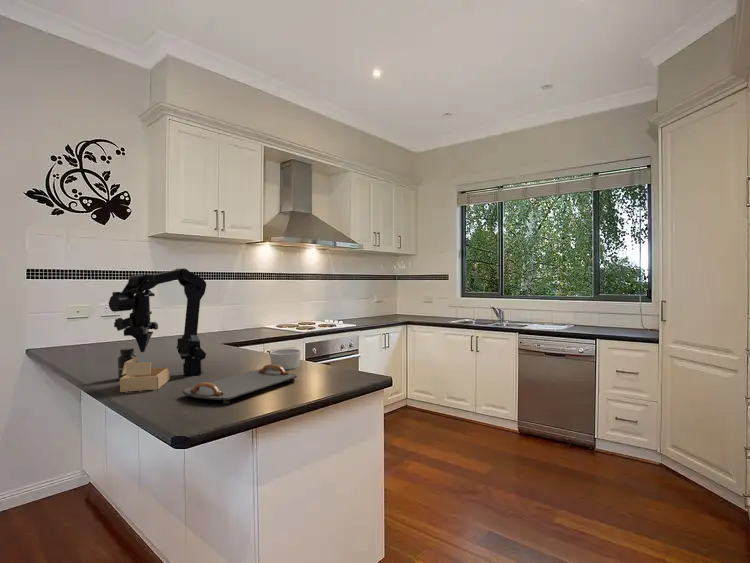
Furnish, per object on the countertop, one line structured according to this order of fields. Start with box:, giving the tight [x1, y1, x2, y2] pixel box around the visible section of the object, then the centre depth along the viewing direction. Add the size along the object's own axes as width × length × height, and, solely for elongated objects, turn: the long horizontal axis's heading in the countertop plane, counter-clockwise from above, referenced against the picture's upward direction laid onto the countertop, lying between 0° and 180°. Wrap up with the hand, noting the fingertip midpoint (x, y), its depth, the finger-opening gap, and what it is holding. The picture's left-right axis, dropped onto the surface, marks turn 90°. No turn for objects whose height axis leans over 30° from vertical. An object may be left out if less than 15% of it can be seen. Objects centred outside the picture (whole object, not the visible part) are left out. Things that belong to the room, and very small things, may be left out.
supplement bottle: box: [117, 347, 138, 381], centre depth 178 cm, size 7×7×12 cm
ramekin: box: [269, 348, 302, 371], centre depth 192 cm, size 13×13×7 cm
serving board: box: [182, 363, 298, 406], centre depth 156 cm, size 39×23×6 cm, turn 150°
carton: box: [119, 366, 171, 393], centre depth 165 cm, size 12×16×5 cm
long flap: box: [122, 357, 138, 375], centre depth 163 cm, size 1×12×4 cm, turn 12°
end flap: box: [126, 361, 152, 376], centre depth 157 cm, size 8×1×4 cm, turn 101°
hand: (142, 352), depth 162 cm, fingers closed
